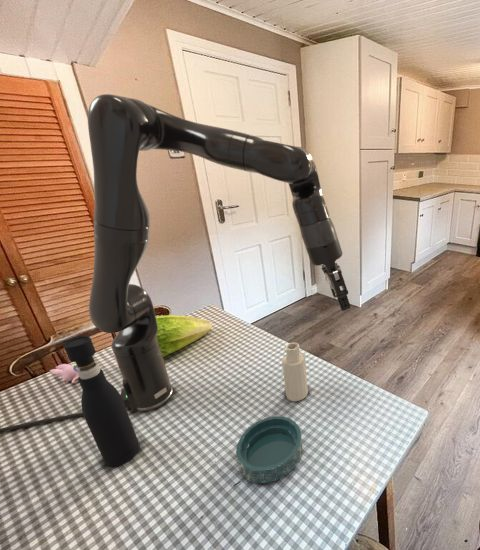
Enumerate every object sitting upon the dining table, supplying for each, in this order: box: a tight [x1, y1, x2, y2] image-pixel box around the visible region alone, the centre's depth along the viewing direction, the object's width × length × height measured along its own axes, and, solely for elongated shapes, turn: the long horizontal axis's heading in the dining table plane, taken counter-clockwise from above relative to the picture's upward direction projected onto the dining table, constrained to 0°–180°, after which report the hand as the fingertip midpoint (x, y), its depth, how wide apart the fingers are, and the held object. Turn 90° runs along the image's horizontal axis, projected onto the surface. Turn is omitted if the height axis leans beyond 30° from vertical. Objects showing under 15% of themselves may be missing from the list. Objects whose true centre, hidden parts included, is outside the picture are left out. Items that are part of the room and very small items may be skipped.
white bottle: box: [281, 342, 309, 402], centre depth 83 cm, size 6×6×16 cm
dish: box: [235, 415, 303, 484], centre depth 67 cm, size 14×14×4 cm
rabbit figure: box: [49, 363, 79, 384], centre depth 90 cm, size 6×6×15 cm
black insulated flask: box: [63, 335, 141, 468], centre depth 63 cm, size 6×6×30 cm
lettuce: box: [155, 314, 213, 358], centre depth 106 cm, size 14×23×14 cm
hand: (341, 302), depth 74 cm, fingers open, 8 cm apart
